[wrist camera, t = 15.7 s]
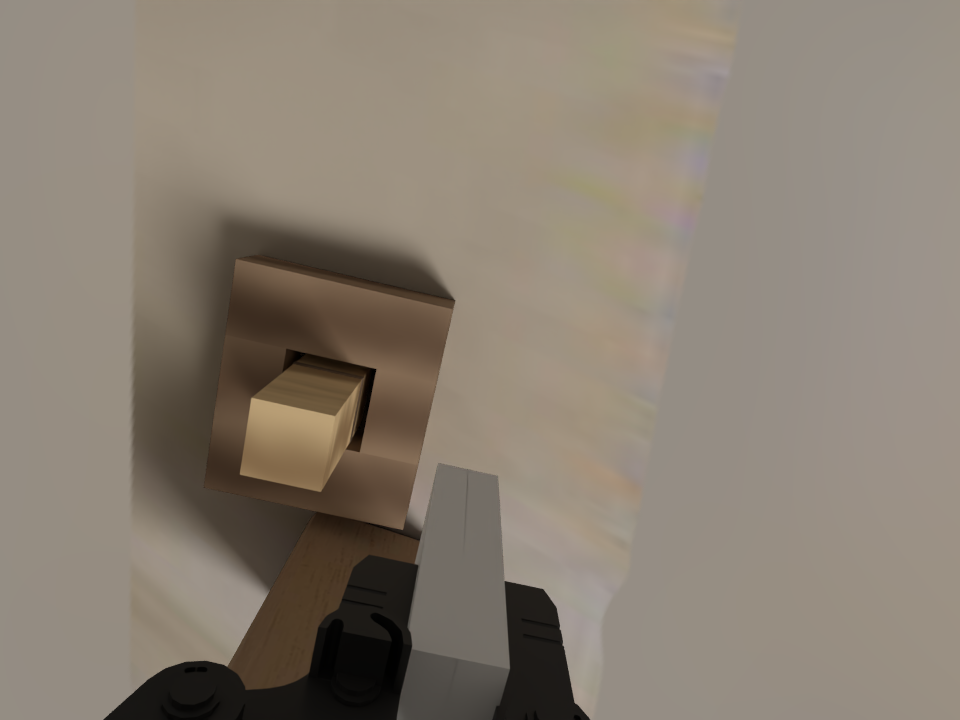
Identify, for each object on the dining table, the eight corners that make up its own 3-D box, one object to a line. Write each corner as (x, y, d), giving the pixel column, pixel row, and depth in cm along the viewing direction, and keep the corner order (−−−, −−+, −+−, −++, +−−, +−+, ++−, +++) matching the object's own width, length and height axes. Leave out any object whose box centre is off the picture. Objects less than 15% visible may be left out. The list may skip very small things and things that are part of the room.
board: (258, 254, 43) (235, 259, 39) (455, 300, 44) (452, 309, 40) (227, 464, 46) (203, 487, 43) (409, 503, 47) (402, 529, 43)
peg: (311, 348, 44) (250, 396, 33) (374, 362, 45) (336, 415, 33) (301, 407, 45) (238, 475, 34) (362, 421, 46) (321, 492, 34)
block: (281, 609, 49) (151, 867, 30) (317, 501, 47) (202, 704, 28) (400, 646, 50) (348, 922, 31) (441, 542, 48) (413, 767, 28)
